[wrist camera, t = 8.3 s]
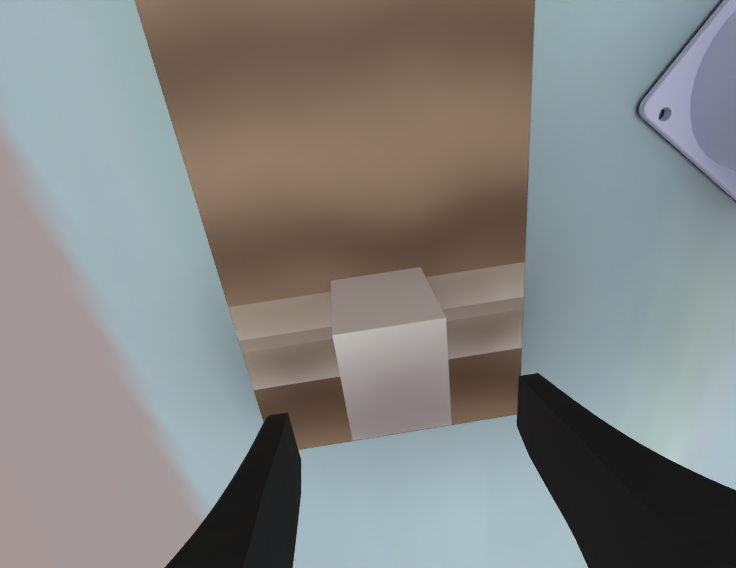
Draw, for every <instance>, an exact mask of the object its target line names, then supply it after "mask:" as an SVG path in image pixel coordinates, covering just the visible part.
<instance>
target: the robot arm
mask: <svg viewBox="0 0 736 568" xmlns="http://www.w3.org/2000/svg"><path fill="white" fill-rule="evenodd" d="M663 108H664V110H665V111H664V115H663V117H662V118H661V119H660V120H659V118H658V117H659V113H660V111H661V110H662V109H663ZM639 113H640V115H641V117H642V118H643V119H644V120H645V121H646V122H647V123H649V124H650V125H651V126H652V127H653V128H654V129H655V130H656V131H658V132H659V133H660V134H661V135H662V136H663V137H664V138H665V139H667V140H668V141H669V142H670V143H671V144H672V145H673V146H675V147H676V148H677V149H678V150H679V151H680V152H681V153H682V154H684V155H685V156H686V157H687V158H688V159H689V160H690V161H691V162H693V163H694V164H695V165H696V166H697V167H698V168H699V169H700V170H702V171H703V172H704V173H705V174H706V175H707V176H708V177H710V178H711V179H712V180H713V181H714V182H715V183H716V184H717V185H719V186H720V187H721V188H722V189H723V190H724V191H725V192H726V193H728V194H729V195H730V196H731V197H732V198H733V199H734V200H736V0H723V2H722V3H721V4H720V5H719V7H718V8H717V9H716V10H715V11H714V13H713V14H712V15H711V16H710V18H709V19H708V20H707V21H706V23H705V24H704V25H703V26H702V27H701V29H700V30H699V31H698V32H697V34H696V35H695V36H694V37H693V39H692V40H691V41H690V42H689V43H688V45H687V46H686V47H685V48H684V50H683V51H682V52H681V53H680V55H679V56H678V57H677V58H676V59H675V61H674V62H673V63H672V64H671V66H670V67H669V68H668V69H667V71H666V72H665V73H664V74H663V75H662V77H661V78H660V79H659V80H658V82H657V83H656V84H655V85H654V86H653V88H652V89H651V90H650V91H649V93H648V94H647V95H646V96H645V98H644V99H643V100H642V102H641V104H640V107H639ZM517 427H518V430H519V432H520V435H521V437H522V440H523V442H524V445H525V447H526V449H527V452H528V454H529V456H530V458H531V460H532V462H533V464H534V465H535V467H536V469H537V471H538V473H539V474H540V476H541V478H542V480H543V481H544V483H545V485H546V487H547V488H548V490H549V492H550V494H551V496H552V497H553V499H554V501H555V503H556V504H557V506H558V508H559V510H560V511H561V513H562V515H563V517H564V518H565V520H566V522H567V524H568V526H569V527H570V529H571V531H572V533H573V535H574V537H575V539H576V541H577V543H578V546H579V548H580V550H581V552H582V554H583V557H584V559H585V561H586V563H587V565H588V568H736V490H734V489H731V488H729V487H727V486H724V485H722V484H720V483H717V482H715V481H713V480H710V479H708V478H706V477H704V476H702V475H700V474H698V473H695V472H693V471H691V470H689V469H687V468H685V467H683V466H681V465H679V464H677V463H675V462H673V461H671V460H669V459H667V458H665V457H663V456H661V455H660V454H658V453H656V452H654V451H652V450H650V449H649V448H647V447H645V446H643V445H641V444H640V443H638V442H636V441H635V440H633V439H631V438H630V437H628V436H626V435H625V434H623V433H622V432H620V431H618V430H617V429H615V428H614V427H612V426H611V425H609V424H607V423H606V422H604V421H603V420H601V419H600V418H598V417H597V416H596V415H594V414H593V413H591V412H590V411H588V410H587V409H586V408H584V407H583V406H581V405H580V404H579V403H577V402H576V401H574V400H573V399H572V398H570V397H569V396H568V395H566V394H565V393H564V392H562V391H561V390H560V389H558V388H557V387H556V386H554V385H553V384H552V383H550V382H549V381H548V380H546V379H545V378H544V377H542V376H541V375H540V374H538V373H536V374H530V375H523V376H519V379H518V406H517ZM300 498H301V458H300V454H299V451H298V447H297V443H296V440H295V436H294V432H293V429H292V425H291V421H290V417H289V414H288V412H287V413H281V414H274V415H268V417H267V418H266V419H265V421H264V423H263V425H262V427H261V429H260V431H259V433H258V435H257V437H256V439H255V441H254V442H253V444H252V446H251V448H250V450H249V452H248V453H247V455H246V457H245V459H244V460H243V462H242V464H241V465H240V467H239V469H238V471H237V472H236V474H235V475H234V477H233V479H232V480H231V482H230V483H229V485H228V486H227V488H226V489H225V491H224V492H223V494H222V496H221V497H220V499H219V500H218V502H217V503H216V504H215V506H214V507H213V509H212V510H211V511H210V513H209V514H208V516H207V517H206V518H205V520H204V521H203V522H202V523H201V525H200V526H199V527H198V529H197V530H196V531H195V533H194V534H193V535H192V536H191V537H190V539H189V540H188V541H187V542H186V543H185V545H184V546H183V547H182V548H181V549H180V551H179V552H178V553H177V554H176V555H175V556H174V558H173V559H172V560H171V561H170V562H169V563H168V564H167V566H166V567H165V568H293V560H294V551H295V542H296V534H297V525H298V516H299V507H300Z"/></svg>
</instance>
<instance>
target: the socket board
mask: <svg viewBox="0 0 736 568" xmlns="http://www.w3.org/2000/svg"><path fill="white" fill-rule="evenodd" d="M135 4H136V7H137V10H138V13H139V17H140V20H141V23H142V26H143V30H144V33H145V36H146V40H147V43H148V46H149V49H150V53H151V56H152V59H153V62H154V66H155V69H156V72H157V75H158V79H159V82H160V85H161V88H162V92H163V95H164V98H165V102H166V105H167V108H168V111H169V115H170V118H171V121H172V124H173V128H174V131H175V134H176V137H177V141H178V144H179V147H180V151H181V154H182V157H183V160H184V164H185V167H186V170H187V173H188V177H189V180H190V183H191V186H192V190H193V193H194V196H195V200H196V203H197V206H198V209H199V213H200V216H201V219H202V222H203V226H204V229H205V232H206V235H207V239H208V242H209V245H210V248H211V252H212V255H213V258H214V262H215V265H216V268H217V271H218V275H219V278H220V281H221V284H222V288H223V291H224V294H225V297H226V301H227V304H228V307H229V311H230V314H231V317H232V320H233V324H234V327H235V330H236V333H237V337H238V340H239V343H240V346H241V350H242V353H243V356H244V360H245V363H246V366H247V369H248V373H249V376H250V379H251V382H252V386H253V389H254V392H255V395H256V399H257V402H258V405H259V408H260V412H261V415H262V418H263V422H264V421H265V419H266V418H267V417H268V415H274V414H281V413H287V412H288V414H289V417H290V421H291V425H292V429H293V432H294V436H295V440H296V443H297V447H298V450H300V449H306V448H313V447H319V446H325V445H331V444H337V443H343V442H350V441H353V440H352V435H351V430H350V425H349V419H348V414H347V409H346V404H345V399H344V393H343V388H342V383H341V378H340V372H339V367H338V362H337V357H336V351H335V346H334V341H333V336H332V305H331V281H332V280H338V279H345V278H352V277H358V276H365V275H371V274H378V273H384V272H391V271H398V270H404V269H411V268H417V267H421V268H422V270H423V272H424V274H425V277H426V279H427V281H428V283H429V285H430V287H431V289H432V291H433V293H434V295H435V297H436V299H437V301H438V303H439V305H440V307H441V309H442V311H443V313H444V315H445V317H446V326H447V345H448V364H449V383H450V402H451V421H452V425H455V424H461V423H467V422H473V421H479V420H485V419H492V418H498V417H504V416H510V415H516V414H517V406H518V379H519V376H521V351H522V325H523V299H524V273H525V247H526V221H527V195H528V168H529V142H530V116H531V90H532V64H533V38H534V12H535V0H135ZM447 426H448V425H447ZM441 427H442V426H441ZM435 428H436V427H435ZM428 429H430V428H428ZM422 430H424V429H422ZM416 431H418V430H416ZM410 432H411V431H410ZM404 433H405V432H404ZM398 434H399V433H398ZM391 435H393V434H391ZM385 436H387V435H385ZM379 437H380V436H379ZM373 438H374V437H373ZM367 439H368V438H367ZM361 440H362V439H361ZM354 441H356V440H354Z"/></svg>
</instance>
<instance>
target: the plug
mask: <svg viewBox="0 0 736 568" xmlns="http://www.w3.org/2000/svg"><path fill="white" fill-rule="evenodd" d="M331 305H332V336H333V341H334V346H335V351H336V357H337V362H338V367H339V372H340V378H341V383H342V388H343V393H344V399H345V404H346V409H347V414H348V419H349V425H350V430H351V435H352V440H353V441H354V440H361V439H367V438H373V437H379V436H385V435H391V434H398V433H404V432H410V431H416V430H422V429H428V428H435V427H441V426H447V425H452V421H451V402H450V383H449V364H448V345H447V326H446V317H445V315H444V313H443V311H442V309H441V307H440V305H439V303H438V301H437V299H436V297H435V295H434V293H433V291H432V289H431V287H430V285H429V283H428V281H427V279H426V277H425V274H424V272H423V270H422V268H421V267H417V268H411V269H404V270H398V271H391V272H384V273H378V274H371V275H365V276H358V277H352V278H345V279H338V280H332V281H331Z"/></svg>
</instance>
